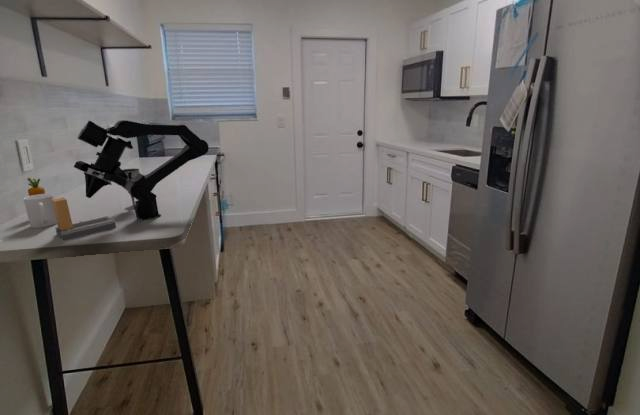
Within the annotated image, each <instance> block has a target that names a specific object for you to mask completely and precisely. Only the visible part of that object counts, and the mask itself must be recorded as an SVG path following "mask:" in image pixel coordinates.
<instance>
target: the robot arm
mask: <svg viewBox="0 0 640 415" xmlns="http://www.w3.org/2000/svg"><path fill="white" fill-rule="evenodd" d="M113 136H114V137H113ZM115 136H118V137H117V138H115ZM144 136H178V137H179V138H180V140H181V141H183V142H184V144H185V145H184V146H183V147H182V149H181V150H180V152H178V153H177V154H175V155H174V156H173V157H171V158H170V159H168V160H167V161H165V162H164V163H163V164H161V165H159V166H158V167H156V168H155V169H154V170H152V171H151V172H149V173H146V174H142V173H139V174H138V175H137V176H136V177H135V178H133V179H130V182H129V183H128V184H127V190H126V191H127V193H128V194H129V195H130V196H131V195H132V196H133V197H134V199H136V201H135V200H134V201H135V204H136V206H134V207H135V210H134V212H135V217H136V218H137V219H139V220H142V221H145V220H149V219H155V218H158V217H161V214H160V213H159V208H158V203H157V201H158V200H157V194H156V193H154V192H153V190H154V188H155V187H156V185H158V184H159V182H161V181H162V180H164V179H166V177H169V175H171V174H173V173H174V172H175V171H178V169H179V168H181V167H182V166H184V165H185V164H187V162H190V161H192V160H195V159H197V158H200V157H202V156H204V155H206V154H207V153H208V151H209V144H208V142H207V141H206V140H204V139H201V138H200V137H199V136H198V135H196V134H195V133H194V132H193V131H192V130H191V129H189V128H188V126H187V125H185V124H153V123H152V124H149V123H148V124H146V123H143V122H141V123H140V122H136V121H131V120H127V119H126V120H125V119H123V120H122V119H120V120H117V121H116V123H115V124H114V125H113V126H111V127H107V128H106V129H105V128H104V127H101V126H100V125H98V124H96V123H95V122H93V121H91V120H88V121H87V123H86V124H85V125H84V126H83V128H81V130H80V132H79V133H78V136H77V139H78V140H79V141H82V142H84V143H86V144H89V145H91V146H92V147H94V148H98V147H99V146H100V147H102V149H101V151H100V152H99V151H97V152H96V154H95V155H96V156H98V157H97V159H96V161H95V162H94V163H92V162H91V163H90V164H89V163H87V162H84V161H82V160H79V161H78V160H77V161H76V162H75V164H74V165H73V168H75V169H77V170H79V171H81V172H83V175H84V179H85V197H86V198H88V199H91V198H92V197H93V196H95V194H97V193H98V192H99V191H100V190H101V189H102V188H104V187H105V186H109V185H110V186H112V185H113V183H114V184H116V185H118V186H120V187H122V186H123V187H125V185H126V183H127V178H128V176H127V175H126V174H125V173H124V171H123V169H122V168H121V165H122V162H120V159H121V157H122V155H123V154H124V152H125V150H126V149H128V150H133V149H134V147H133V145H132V141H131V140H128V141H126V140H124V139H132V138H138V137H144ZM120 137H121V138H120ZM122 138H124V139H122ZM106 140H107V141H106ZM123 187H122V188H123Z"/></svg>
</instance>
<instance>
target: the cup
mask: <svg viewBox="0 0 640 415" xmlns="http://www.w3.org/2000/svg"><path fill="white" fill-rule="evenodd" d="M51 199H55V197H54V194H53V193H45V194H38V195H32V196H29V195H28V196H26V197H23V200H22V201H23V202H24V203H23V204H24V206H25V210H26V213H27V214H26V215H27V218H28V222H29V225H30V227H31V228H34V229H41V228H48V227H53V226H55V225H57V221H56V217H55V212H54V208H53V204H52V200H51Z"/></svg>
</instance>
